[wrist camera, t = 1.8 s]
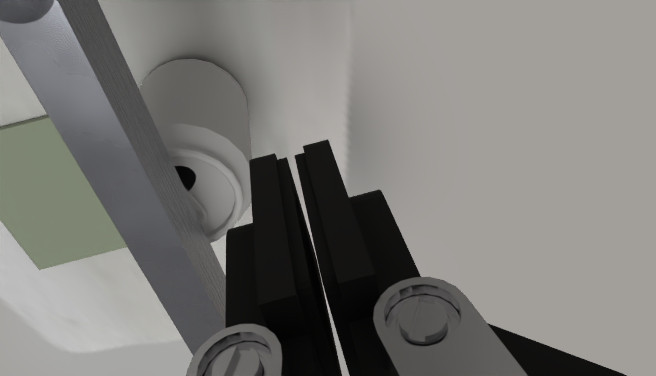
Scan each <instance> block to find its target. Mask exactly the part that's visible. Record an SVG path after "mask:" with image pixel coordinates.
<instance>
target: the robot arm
mask: <svg viewBox="0 0 656 376" xmlns="http://www.w3.org/2000/svg"><path fill="white" fill-rule="evenodd" d="M303 148H304V152H305V153H302V154H298V155H295V159H296V164H297V169H298V173H299V178H300V182H301V187H302V191H303V196H304V200H305V205H306V210H307V214H308V219H309V223H310V228H311V232H312V237H313V241H314V246H315V251H316V255H317V259H316V256H315V252H314V248H313V245H312V242H311V238H310V235H309V231H308V228H307V225H306V221H305V218H304V214H303V211H302V208H301V204H300V201H299V197H298V194H297V190H296V187H295V184H294V180H293V177H292V173H291V170H290V167H289V163H288V160H287V157H286V158H283V159H279V160H277V157H276V155H275V153H274V154H271V155H267V156H263V157H259V158H255V159H251V160H249V168H250V184H251V200H252V216H253V223H251V224H247V225H243V226H239V227H236V228H232V229H228V231H227V234H226V309H225V329H224V330H222V331H220V332H218V333H216V334H214V335H213V336H212V337H210V338H209V339H208V340H207V341H206V342H205V343H203V344H202V345H201V347H200V348H199V349H198V351H197V352H196V353H195V355H194V356H193V357H192V360H191V362H190V365H189V368H188V370H187V374H186V376H342V374H341V369H340V364H339V360H338V356H337V350H336V346H335V341H334V337H333V332H332V328H331V323H330V318H329V314H328V309H327V305H326V300H325V295H324V291H323V286H324V289H325V293H326V297H327V300H328V304H329V307H330V311H331V314H332V317H333V321H334V324H335V328H336V331H337V334H338V338H339V341H340V344H341V348H342V351H343V355H344V358H345V361H346V365H347V368H348V371H349V375H350V376H626V375H624V374H622V373H619V372H617V371H614V370H611V369H609V368H606V367H603V366H601V365H598V364H595V363H593V362H590V361H587V360H584V359H582V358H579V357H576V356H574V355H571V354H568V353H565V352H563V351H560V350H558V349H555V348H552V347H550V346H547V345H544V344H541V343H539V342H536V341H533V340H531V339H528V338H525V337H523V336H520V335H517V334H515V333H512V332H509V331H506V330H504V329H501V328H498V327H496V326H493V325H490V324H488V323H486V321H485V320H484V319H483V317H482V316H481V315H480V314H479V312H478V311H477V310H476V309H475V307H474V306H473V305H472V303H471V302H470V301H469V300H468V298H467V297H466V296H465V295H464V294H463V293H462V292H461V291H460V290H459V289H458V288H457V287H456V286H454V285H452V284H450V283H447V282H446V281H444V280H440V279H435V278H431V277H421V276H420V274H419V272H418V269H417V267H416V265H415V263H414V261H413V258H412V256H411V254H410V252H409V250H408V248H407V245H406V243H405V241H404V239H403V237H402V235H401V232H400V230H399V228H398V226H397V224H396V222H395V219H394V217H393V215H392V213H391V211H390V208H389V206H388V204H387V202H386V200H385V198H384V195H383V194H382V192H381V190H376V191H372V192H368V193H364V194H361V195H357V196H353V197H348V195H347V192H346V189H345V186H344V183H343V180H342V177H341V175H340V172H339V169H338V166H337V163H336V160H335V158H334V155H333V152H332V149H331V146H330V143H329V141H328V140H324V141H320V142H317V143H313V144H309V145H305V146H303ZM317 260H318V264H319V268H318V264H317ZM319 269H320V272H319ZM320 273H321V277H320ZM321 278H322V282H323V286H322V282H321Z"/></svg>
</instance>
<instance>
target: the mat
mask: <svg viewBox="0 0 656 376" xmlns="http://www.w3.org/2000/svg"><path fill="white" fill-rule="evenodd" d="M0 220H1V222H2V223H3V224H4V226H5V227H6V228H7V229H8V231H9V232H10V233H11V234H12V236H13V237H14V238H15V240H16V241H17V242H18V243H19V245H20V246H21V247H22V249H23V250H24V251H25V252H26V254H27V255H28V256H29V257H30V259H31V260H32V261H33V263H34V264H35V265H36V266H37V268H38V269H39V270H41V269H45V268H49V267H52V266H56V265H60V264H64V263H67V262H71V261H75V260H79V259H83V258H86V257H90V256H94V255H98V254H102V253H105V252H109V251H113V250H117V249H121V248H124V247H127V245H126V243H125V242H124V240H123V238H122V237H121V235H120V233H119V232H118V230H117V229H116V227H115V225H114V224H113V222H112V220H111V219H110V217H109V215H108V214H107V212H106V210H105V209H104V207H103V205H102V204H101V202H100V200H99V199H98V197H97V195H96V194H95V192H94V190H93V189H92V187H91V185H90V184H89V182H88V181H87V179H86V177H85V176H84V174H83V172H82V171H81V169H80V167H79V166H78V164H77V162H76V161H75V159H74V157H73V156H72V154H71V152H70V151H69V149H68V147H67V146H66V144H65V142H64V141H63V139H62V137H61V136H60V134H59V132H58V131H57V129H56V128H55V126H54V124H53V123H52V121H51V119H50V118H49V116H48V115H46V116H42V117H38V118H34V119H30V120H26V121H22V122H18V123H14V124H10V125H6V126H3V127H0Z"/></svg>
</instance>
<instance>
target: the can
mask: <svg viewBox="0 0 656 376" xmlns="http://www.w3.org/2000/svg"><path fill="white" fill-rule="evenodd" d="M139 91H140V93H141V95H142V97H143V100H144V102H145V104H146V106H147V108H148V110H149V113H150V115H151V117H152V119H153V121H154V123H155V126H156V128H157V130H158V132H159V134H160V136H161V138H162V141H163V143H164V145H165V147H166V149H167V151H168V154H169V156H170V158H171V160H172V162H173V164H174V167H175V169H176V171H177V173H178V175H179V177H180V179H181V182H182V184H183V186H184V188H185V190H186V192H187V195H188V197H189V199H190V201H191V203H192V205H193V208H194V210H195V212H196V214H197V216H198V218H199V220H200V223H201V225H202V227H203V229H204V231H205V233H206V236H207V238H208V240H209V242H210V243H211V242H214V241H217V240H218V239H220V238H221V237H222V236H224V235H225V234H226V233H227V231H228V229H232V228H233V226H234V225H235V223H236V222H237V221H238V220H239V219H240V218H241V217H242V215H243V214H244V212H245V211H246V210H247V208H248V207H249V205H250V202H251V184H250V168H249V160H251V159H252V155H251V143H250V130H249V117H248V107H247V99H246V97H245V95H244V93H243V91H242V89H241V87H240V84H239V83H238V82H237V81H236V80H235V79H234V78H233V77H232V76H231V75H230V74H229V73H228V72H227V71H225V70H223V69H222V68H220V67H218V66H216V65H214V64H213V63H210V62H206V61H201V60H197V59H180V60H173V61H171V62H168V63H166V64H163V65H161V66H158V67H157V68H156V69H155V70H154V71H153V72H151V73H150V74H149V75H148V76H147V77H146V78H145V80H144V81H143V83H142V85H141V87H140V89H139Z"/></svg>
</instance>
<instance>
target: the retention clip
mask: <svg viewBox="0 0 656 376" xmlns="http://www.w3.org/2000/svg"><path fill="white" fill-rule="evenodd" d="M0 36H1V38H2V40H3V41H4V43H5V45H6V46H7V48H8V50H9V51H10V53H11V55H12V56H13V58H14V60H15V61H16V63H17V65H18V66H19V68H20V70H21V71H22V73H23V75H24V76H25V78H26V80H27V81H28V83H29V84H30V86H31V88H32V89H33V91H34V93H35V94H36V96H37V98H38V99H39V101H40V103H41V104H42V106H43V108H44V109H45V111H46V113H47V114H48V116H49V118H50V119H51V121H52V123H53V124H54V126H55V128H56V129H57V131H58V132H59V134H60V136H61V137H62V139H63V141H64V142H65V144H66V146H67V147H68V149H69V151H70V152H71V154H72V156H73V157H74V159H75V161H76V162H77V164H78V166H79V167H80V169H81V171H82V172H83V174H84V176H85V177H86V179H87V181H88V182H89V184H90V185H91V187H92V189H93V190H94V192H95V194H96V195H97V197H98V199H99V200H100V202H101V204H102V205H103V207H104V209H105V210H106V212H107V214H108V215H109V217H110V219H111V220H112V222H113V224H114V225H115V227H116V229H117V230H118V232H119V233H120V235H121V237H122V238H123V240H124V242H125V243H126V245H127V247H128V248H129V250H130V252H131V253H132V255H133V257H134V258H135V260H136V262H137V263H138V265H139V267H140V268H141V270H142V272H143V273H144V275H145V277H146V278H147V280H148V282H149V283H150V285H151V286H152V288H153V290H154V291H155V293H156V295H157V296H158V298H159V300H160V301H161V303H162V305H163V306H164V308H165V310H166V311H167V313H168V315H169V316H170V318H171V320H172V321H173V323H174V325H175V326H176V328H177V330H178V331H179V333H180V334H181V336H182V338H183V339H184V341H185V343H186V344H187V346H188V348H189V349H190V351H191V353H192V354H193V356H194V355H195V353H196V352H197V351H198V349H199V348H200V347H201V345H202V344H203V343H205V342H206V341H207V340H208V339H209V338H210V337H212V336H213V335H214V334H216V333H218V332H220V331H222V330H224V329H225V309H226V277H225V274H224V272H223V270H222V268H221V266H220V264H219V262H218V259H217V257H216V255H215V253H214V251H213V249H212V246H211V244H210V242H209V240H208V238H207V236H206V233H205V231H204V229H203V227H202V225H201V223H200V220H199V218H198V216H197V214H196V212H195V210H194V208H193V205H192V203H191V201H190V199H189V197H188V195H187V192H186V190H185V188H184V186H183V184H182V182H181V179H180V177H179V175H178V173H177V171H176V169H175V167H174V164H173V162H172V160H171V158H170V156H169V154H168V151H167V149H166V147H165V145H164V143H163V141H162V138H161V136H160V134H159V132H158V130H157V128H156V126H155V123H154V121H153V119H152V117H151V115H150V113H149V110H148V108H147V106H146V104H145V102H144V100H143V97H142V95H141V93H140V91H139V89H138V87H137V84H136V82H135V80H134V78H133V76H132V74H131V72H130V69H129V67H128V65H127V63H126V61H125V59H124V56H123V54H122V52H121V50H120V48H119V46H118V43H117V41H116V39H115V37H114V35H113V33H112V31H111V28H110V26H109V24H108V22H107V20H106V18H105V15H104V13H103V11H102V9H101V7H100V5H99V2H98V0H0Z"/></svg>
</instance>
